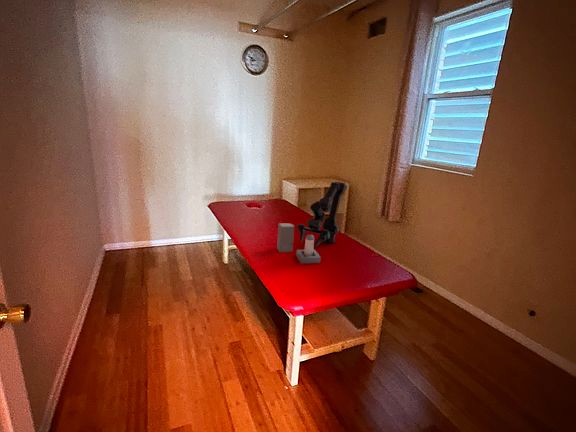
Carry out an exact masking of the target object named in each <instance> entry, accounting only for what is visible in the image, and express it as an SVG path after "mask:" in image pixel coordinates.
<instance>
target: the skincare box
mask: <svg viewBox="0 0 576 432" xmlns="http://www.w3.org/2000/svg"><path fill="white" fill-rule="evenodd" d="M277 229H278V231H277V241H276V243H277V244H276V245H277V246H276V249H277V250H278V252H279V253H288V252H289V253H290V252H293V249H294V248H293V247H294V238H295V236H294V235H295V225H294V224H292V223H288V222H287V223H278V228H277Z"/></svg>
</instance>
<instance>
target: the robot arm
mask: <svg viewBox="0 0 576 432" xmlns="http://www.w3.org/2000/svg"><path fill="white" fill-rule="evenodd" d="M347 187H348V186H347V185H346V183H345V182H339V181H335V182H334V181H333V182H331V183H330V185H329V188H328V189H327V191H326V193H325V195H324V197H321V198H320V199H319V200H318V201H315V202H314V203H312V204H311V205H310V207H309V208H310V212H312V215H313V218H310V219H309V218H308V219H307V221H306V222H307V223H306V225H308V227H307V226H306V225H305V224H304V223H298V224H297V226H296V229H297V230H298V232H299V233H300V240H299V243H302V242H303V240H304V238H305V237H306V233H307V232H308V233H314V234H318V239H317V240H316V242H315V244H314V245H315V246H314V247H319V246H318V245H320V244H321V243H322V242H325V243H326V244H336V240H335V236H336V235H338V234H339V228H338V221H337V215H338V210H339V206H340V204H341V203H340V201H341V197H342V196H343V195H344V194H346V193H345V192H346V190H347ZM325 212H326V213H328V212H329V214H328V217H327V218H326V213H325ZM323 222H324V223H323ZM321 228H322V229H321Z"/></svg>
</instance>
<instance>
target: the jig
mask: <svg viewBox="0 0 576 432" xmlns="http://www.w3.org/2000/svg"><path fill="white" fill-rule="evenodd" d="M304 250H305V249H296V253H295V256H296V257H297V259H298V262H300V264H321V258H322V257H321V256H320V254H319V253H318V251H316V249H314V248H313V255H312V256H304Z"/></svg>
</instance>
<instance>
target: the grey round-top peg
mask: <svg viewBox="0 0 576 432" xmlns="http://www.w3.org/2000/svg"><path fill="white" fill-rule="evenodd" d="M304 243H305V244H304V249H303V250H304V256H312V255H313V249H314V247H315V246H314V245H315V236H314V235H313V234H311V233H310V234H307V235H305V242H304Z"/></svg>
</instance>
